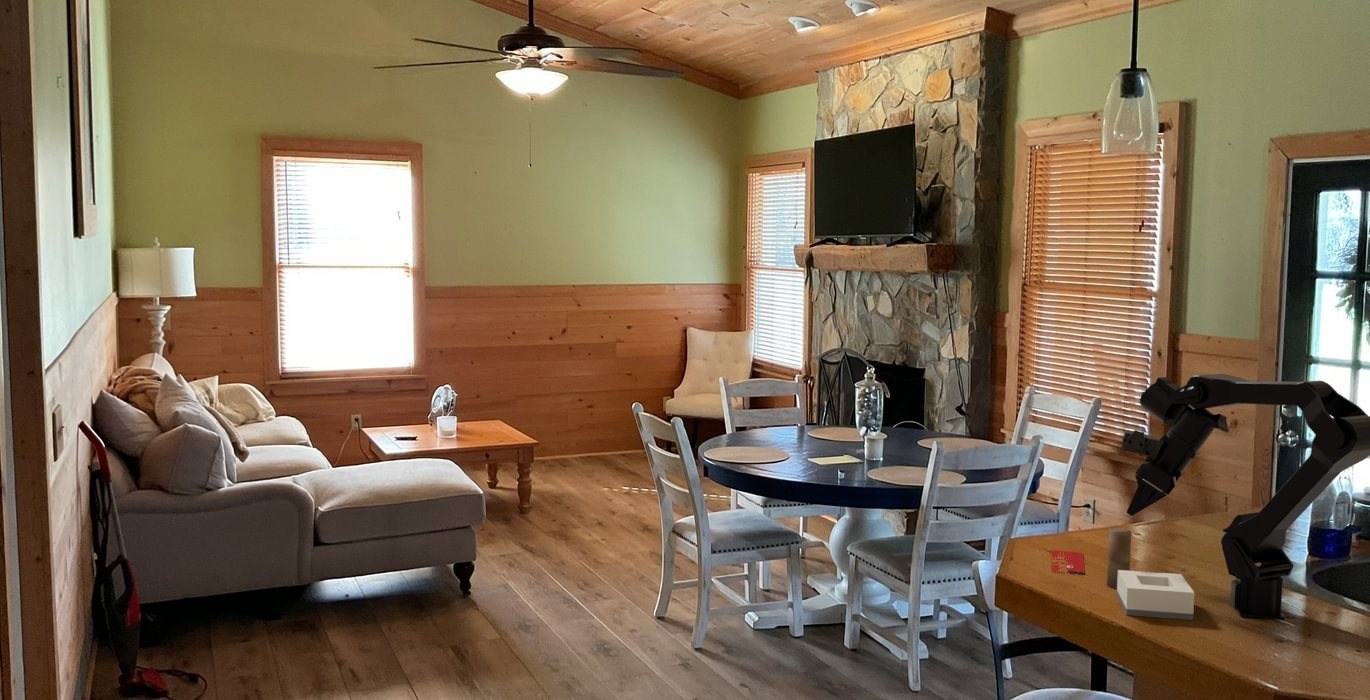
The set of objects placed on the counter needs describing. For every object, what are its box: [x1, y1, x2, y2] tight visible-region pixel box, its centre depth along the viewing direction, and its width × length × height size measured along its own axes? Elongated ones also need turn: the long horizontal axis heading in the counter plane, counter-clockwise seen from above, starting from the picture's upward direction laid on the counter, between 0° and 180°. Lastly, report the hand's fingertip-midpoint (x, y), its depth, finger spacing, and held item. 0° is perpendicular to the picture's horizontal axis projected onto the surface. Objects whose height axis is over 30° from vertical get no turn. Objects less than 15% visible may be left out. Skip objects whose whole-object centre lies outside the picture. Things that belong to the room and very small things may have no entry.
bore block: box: [1116, 570, 1195, 621], centre depth 177 cm, size 10×10×4 cm
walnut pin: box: [1106, 527, 1132, 590], centre depth 188 cm, size 4×4×10 cm
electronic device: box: [1051, 549, 1086, 576], centre depth 203 cm, size 6×1×15 cm
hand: (1132, 509), depth 190 cm, fingers open, 9 cm apart
